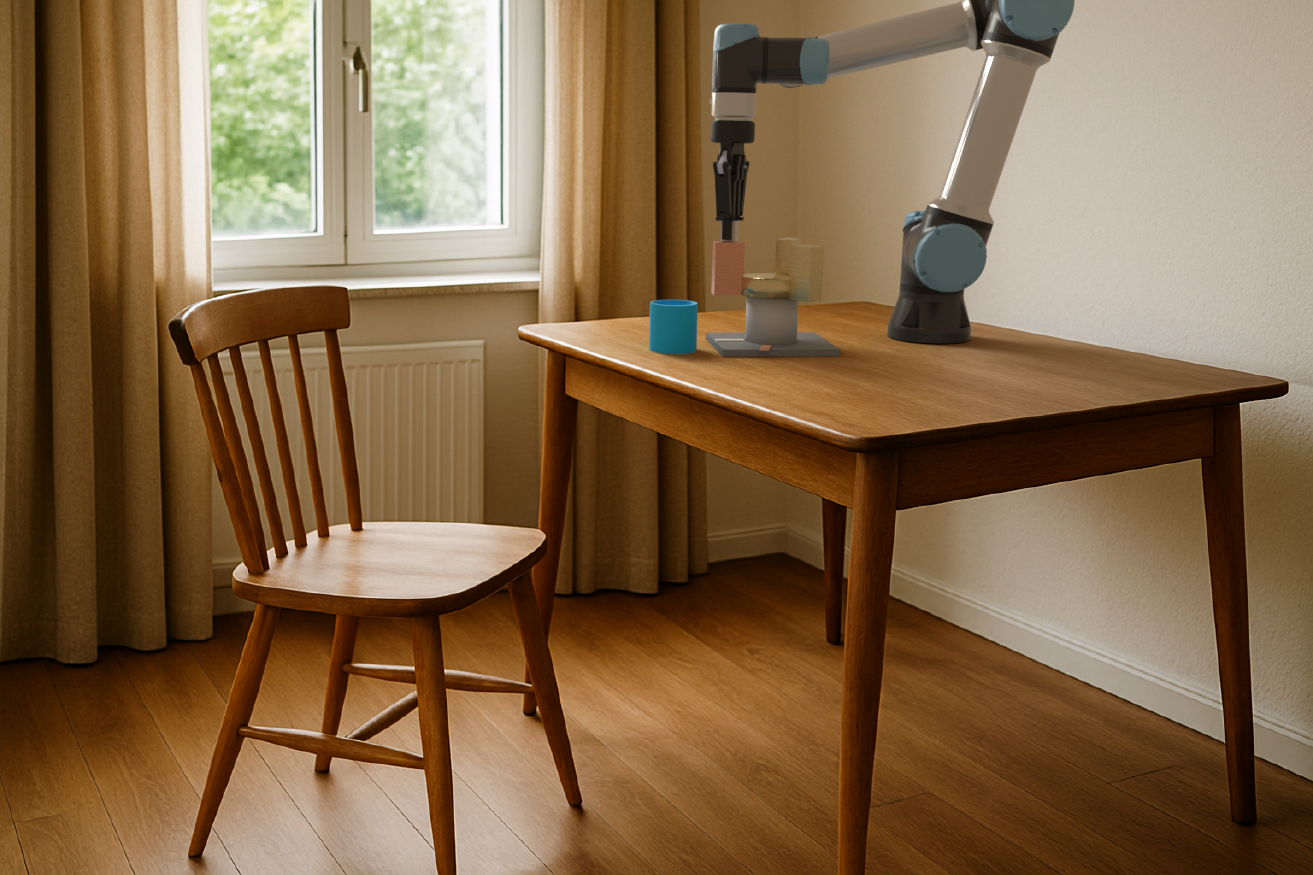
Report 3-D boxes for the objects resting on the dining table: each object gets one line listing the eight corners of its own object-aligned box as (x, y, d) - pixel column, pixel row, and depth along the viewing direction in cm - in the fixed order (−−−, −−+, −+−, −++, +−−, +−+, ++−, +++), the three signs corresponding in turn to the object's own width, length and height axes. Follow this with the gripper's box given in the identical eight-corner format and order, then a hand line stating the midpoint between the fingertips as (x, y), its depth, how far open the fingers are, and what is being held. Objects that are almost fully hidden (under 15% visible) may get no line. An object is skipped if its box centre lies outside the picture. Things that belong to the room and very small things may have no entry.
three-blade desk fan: (796, 287, 227) (798, 237, 225) (823, 302, 208) (826, 247, 206) (703, 287, 225) (705, 236, 223) (722, 302, 206) (724, 247, 204)
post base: (814, 338, 229) (816, 289, 227) (842, 358, 210) (845, 304, 208) (706, 339, 226) (707, 289, 224) (724, 358, 207) (726, 304, 205)
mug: (704, 352, 213) (705, 305, 211) (660, 355, 210) (660, 306, 208) (676, 341, 224) (677, 296, 222) (634, 343, 221) (634, 297, 219)
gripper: (724, 119, 220) (720, 254, 225) (699, 118, 208) (695, 261, 214) (765, 120, 217) (759, 256, 223) (742, 119, 205) (737, 263, 211)
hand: (728, 258), depth 218 cm, fingers closed
